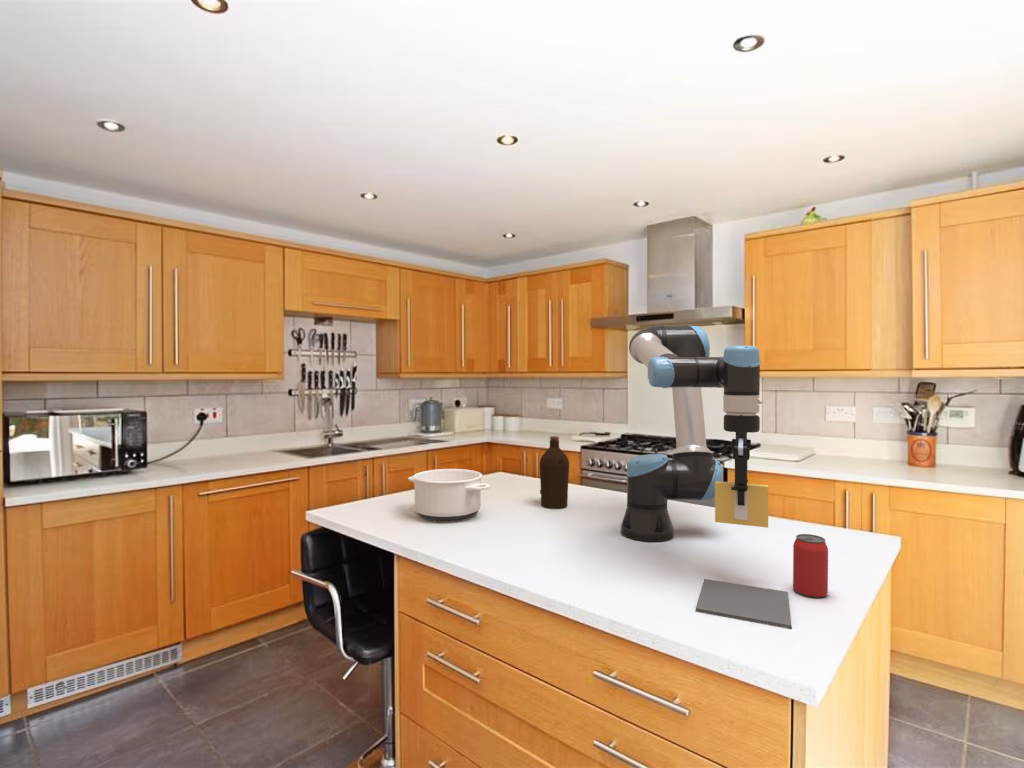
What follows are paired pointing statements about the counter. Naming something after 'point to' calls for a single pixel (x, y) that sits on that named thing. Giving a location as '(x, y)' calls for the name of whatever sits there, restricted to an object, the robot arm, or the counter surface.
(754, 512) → the slab
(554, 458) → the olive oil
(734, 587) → the mat
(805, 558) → the beer can
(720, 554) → the counter surface
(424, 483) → the pot
